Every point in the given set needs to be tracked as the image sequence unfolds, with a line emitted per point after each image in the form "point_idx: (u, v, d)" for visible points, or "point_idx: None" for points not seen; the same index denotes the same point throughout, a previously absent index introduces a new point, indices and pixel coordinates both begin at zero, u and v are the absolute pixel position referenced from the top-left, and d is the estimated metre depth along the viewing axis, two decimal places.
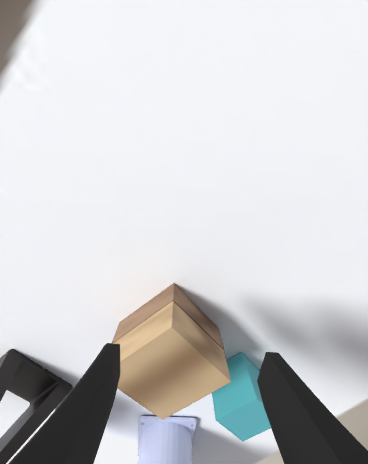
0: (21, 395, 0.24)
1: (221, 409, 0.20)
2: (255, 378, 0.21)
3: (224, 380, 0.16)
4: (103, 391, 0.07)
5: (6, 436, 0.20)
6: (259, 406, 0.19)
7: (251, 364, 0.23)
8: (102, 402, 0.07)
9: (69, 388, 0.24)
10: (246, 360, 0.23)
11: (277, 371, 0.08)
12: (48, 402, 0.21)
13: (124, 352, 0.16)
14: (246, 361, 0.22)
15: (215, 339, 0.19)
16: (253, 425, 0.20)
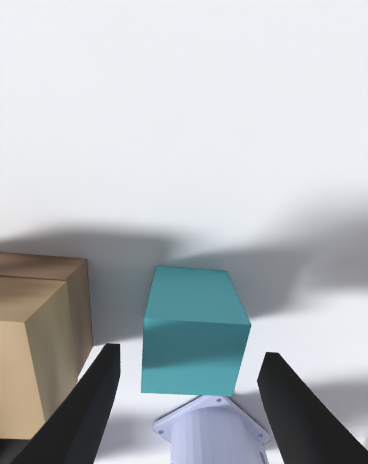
0: None
1: None
2: (177, 286, 0.11)
3: (12, 328, 0.08)
4: (103, 391, 0.07)
5: None
6: (167, 327, 0.09)
7: (184, 271, 0.13)
8: (102, 402, 0.07)
9: None
10: (168, 270, 0.13)
11: (277, 371, 0.08)
12: None
13: None
14: (162, 273, 0.12)
15: (42, 276, 0.11)
16: (209, 363, 0.09)
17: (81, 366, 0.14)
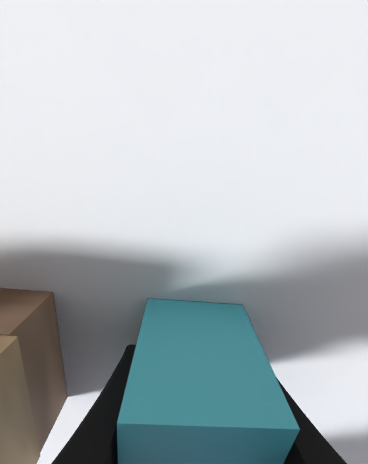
0: None
1: None
2: (176, 339, 0.07)
3: None
4: None
5: None
6: (158, 435, 0.05)
7: (186, 308, 0.09)
8: None
9: None
10: (164, 308, 0.09)
11: None
12: None
13: None
14: (154, 314, 0.09)
15: None
16: None
17: (47, 433, 0.10)
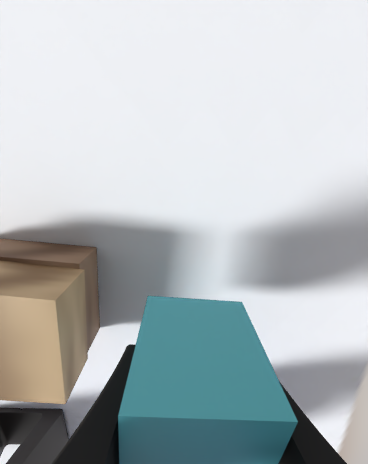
0: None
1: None
2: (176, 336, 0.08)
3: (45, 305, 0.09)
4: None
5: None
6: (159, 427, 0.05)
7: (186, 305, 0.09)
8: None
9: (58, 413, 0.20)
10: (164, 305, 0.09)
11: None
12: (28, 440, 0.18)
13: None
14: (154, 311, 0.09)
15: (59, 260, 0.12)
16: None
17: (90, 344, 0.15)
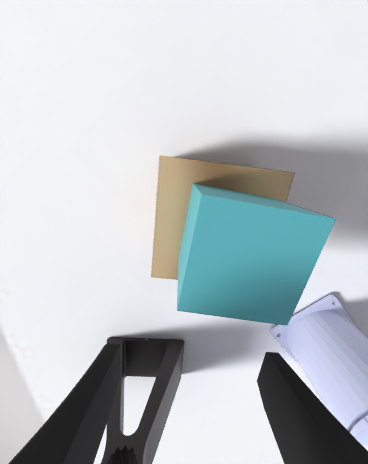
0: (153, 375, 0.24)
1: (180, 285, 0.08)
2: (226, 192, 0.09)
3: (284, 178, 0.11)
4: (103, 391, 0.07)
5: None
6: (229, 212, 0.07)
7: (227, 190, 0.11)
8: (102, 402, 0.07)
9: (181, 342, 0.22)
10: (208, 187, 0.11)
11: (277, 371, 0.08)
12: (167, 359, 0.20)
13: None
14: (202, 186, 0.10)
15: None
16: (270, 274, 0.07)
17: None
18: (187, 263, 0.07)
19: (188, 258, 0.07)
